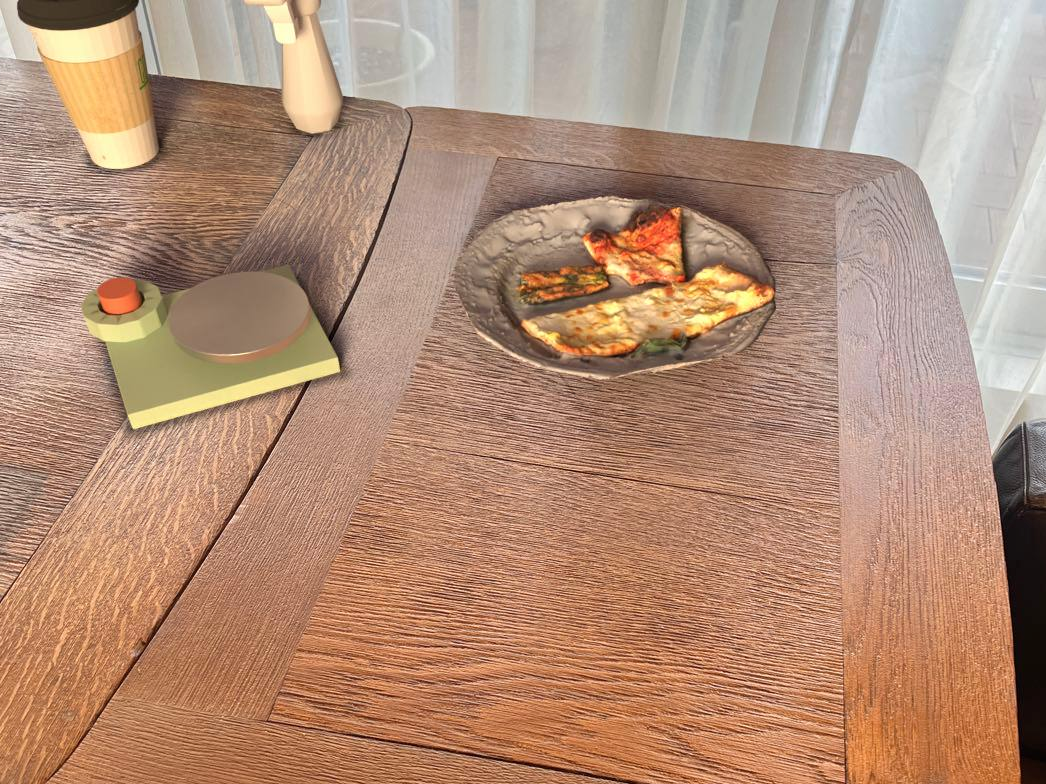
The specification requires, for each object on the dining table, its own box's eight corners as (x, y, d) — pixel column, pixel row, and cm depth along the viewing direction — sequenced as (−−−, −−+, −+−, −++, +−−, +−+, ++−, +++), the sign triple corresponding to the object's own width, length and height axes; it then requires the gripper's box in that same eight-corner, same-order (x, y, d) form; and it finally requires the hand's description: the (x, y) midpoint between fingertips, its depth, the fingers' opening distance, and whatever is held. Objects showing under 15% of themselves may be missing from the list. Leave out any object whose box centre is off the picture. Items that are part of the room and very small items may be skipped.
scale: (121, 433, 71) (107, 400, 69) (88, 322, 80) (75, 290, 77) (340, 372, 76) (334, 339, 74) (288, 273, 84) (281, 241, 82)
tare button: (106, 320, 75) (100, 303, 74) (100, 300, 77) (93, 282, 76) (145, 311, 76) (139, 293, 75) (138, 290, 78) (132, 273, 77)
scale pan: (187, 379, 71) (184, 370, 70) (158, 300, 77) (155, 291, 76) (328, 341, 73) (326, 332, 73) (289, 268, 79) (287, 259, 79)
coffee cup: (195, 131, 100) (151, -36, 88) (152, 183, 93) (99, 10, 82) (100, 122, 101) (45, -44, 89) (51, 173, 94) (-15, 1, 83)
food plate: (700, 200, 92) (705, 163, 89) (825, 358, 77) (835, 320, 74) (426, 247, 87) (423, 209, 84) (505, 426, 72) (504, 387, 69)
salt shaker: (274, 123, 101) (246, -19, 91) (320, 103, 104) (298, -37, 94) (312, 143, 98) (287, -1, 88) (358, 122, 101) (339, -19, 91)
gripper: (266, -197, 90) (295, -28, 100) (194, -121, 77) (236, 66, 87) (337, -196, 90) (359, -26, 100) (277, -119, 76) (309, 68, 87)
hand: (301, 18), depth 93 cm, fingers open, 8 cm apart
